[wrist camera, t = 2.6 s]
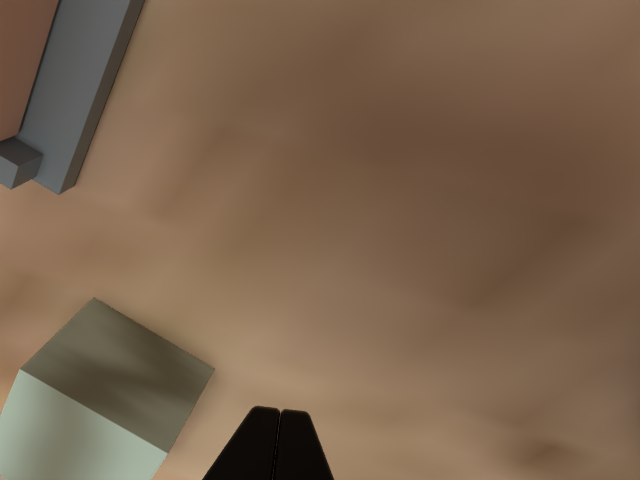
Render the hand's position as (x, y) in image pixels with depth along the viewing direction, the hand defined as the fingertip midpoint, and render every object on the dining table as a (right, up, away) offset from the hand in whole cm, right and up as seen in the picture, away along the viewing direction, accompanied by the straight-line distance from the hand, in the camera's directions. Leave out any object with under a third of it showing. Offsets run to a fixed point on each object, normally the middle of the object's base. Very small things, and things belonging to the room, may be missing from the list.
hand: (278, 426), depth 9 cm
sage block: (-8, -3, +17) cm, 19 cm away
